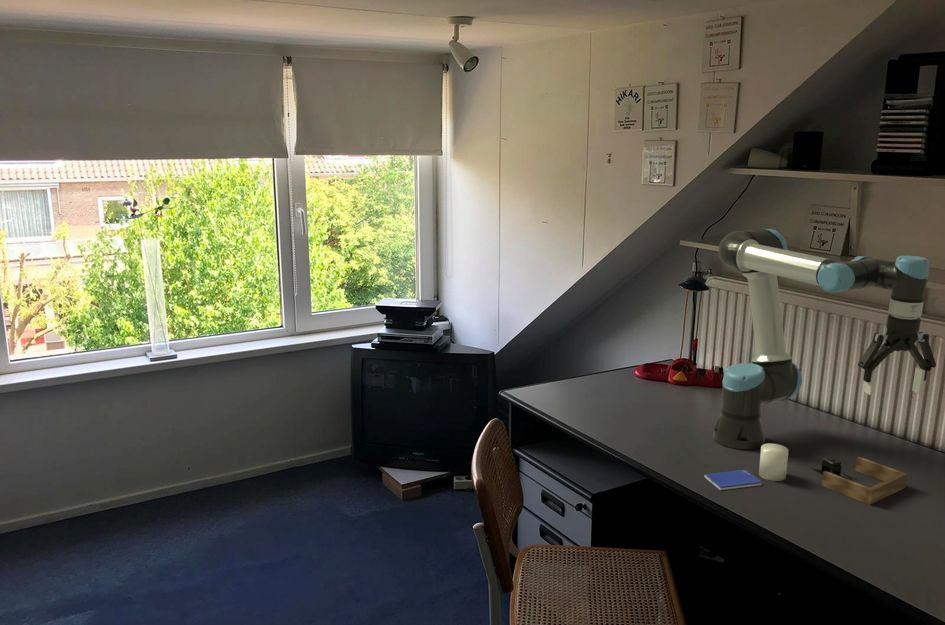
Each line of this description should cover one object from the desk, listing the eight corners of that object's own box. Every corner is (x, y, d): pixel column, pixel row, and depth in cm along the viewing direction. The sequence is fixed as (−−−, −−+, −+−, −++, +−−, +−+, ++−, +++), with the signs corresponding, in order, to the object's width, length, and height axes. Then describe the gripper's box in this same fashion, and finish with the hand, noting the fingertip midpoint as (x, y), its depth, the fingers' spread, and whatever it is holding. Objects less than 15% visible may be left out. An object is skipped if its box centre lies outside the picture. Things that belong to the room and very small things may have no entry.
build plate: (857, 483, 205) (859, 468, 204) (835, 487, 203) (837, 471, 202) (824, 464, 216) (826, 449, 215) (803, 468, 214) (805, 452, 213)
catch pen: (821, 485, 202) (823, 472, 201) (857, 469, 211) (859, 456, 211) (870, 505, 191) (871, 490, 190) (905, 487, 201) (907, 473, 200)
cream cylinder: (753, 473, 209) (755, 447, 208) (768, 467, 213) (771, 441, 211) (775, 483, 204) (778, 455, 202) (791, 476, 208) (793, 449, 206)
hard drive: (744, 468, 210) (704, 473, 208) (761, 481, 203) (720, 486, 200) (744, 474, 211) (704, 478, 208) (761, 486, 203) (720, 491, 200)
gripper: (867, 320, 190) (856, 399, 195) (960, 318, 192) (946, 396, 197) (850, 312, 197) (840, 388, 203) (940, 311, 199) (927, 386, 205)
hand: (892, 392), depth 200 cm, fingers open, 13 cm apart
